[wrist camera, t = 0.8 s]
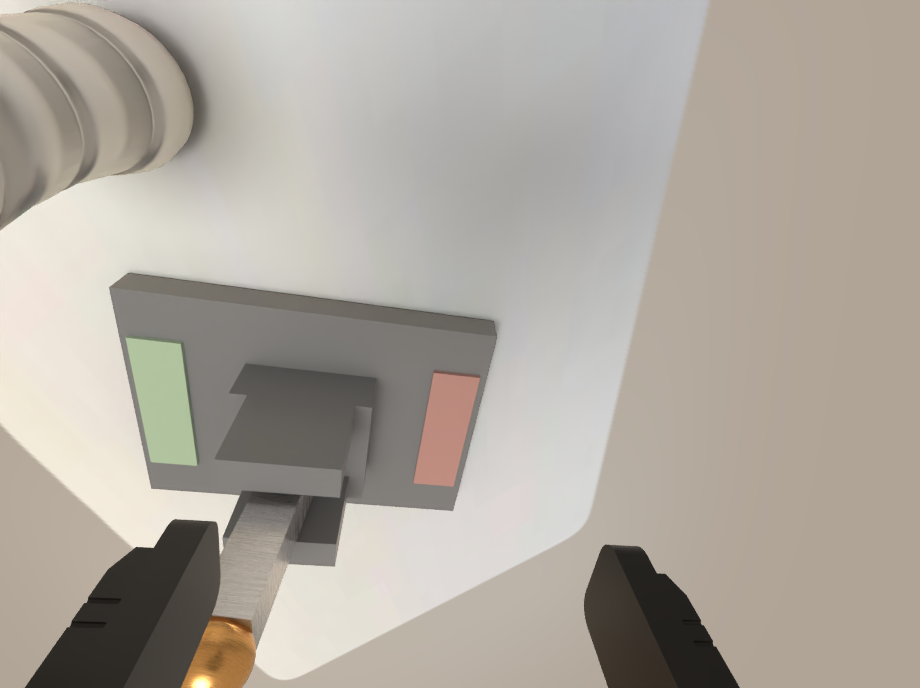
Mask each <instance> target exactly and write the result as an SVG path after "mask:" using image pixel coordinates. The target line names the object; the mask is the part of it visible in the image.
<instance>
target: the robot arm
mask: <svg viewBox="0 0 920 688" xmlns="http://www.w3.org/2000/svg"><path fill="white" fill-rule="evenodd" d="M220 580H221V572H220V554H219V536H218V526H217V523H216V522H213V521H195V520H177V519H175V520H173V521H172V522H171V523H170V524H169V525H168V526H167V528H166V529H165V531H164V532H163V534H162V536H161V537H160V539H159V540H158V542H157V544H156V545H155V547H154V548H144V547H136V548H134V549H133V550H132V551H131V552H129V553H128V554H127V555H126V556H124V557H123V558H122V559H121V560H120V561H118V562H117V563H116V564H114V565H113V566H112V567H111V568H109V569H108V570H107V572H106V573H105V575H104V576H103V577H102V579H101V580H100V582H99V583H98V584H97V586H96V587H95V589H94V590H93V591H92V593H91V594H90V596H89V597H88V601H87V603H84V604H83V606H82V607H81V608H80V610H79V611H78V613H77V614H76V616H75V617H74V619H73V620H72V623H71V626H70V627H68V628H66V630H65V631H64V633H63V634H62V636H61V637H60V638H59V640H58V641H57V643H56V644H55V646H54V647H53V648H52V650H51V651H50V653H49V654H48V655H47V657H46V658H45V660H44V661H43V663H42V664H41V665H40V667H39V668H38V670H37V671H36V673H35V674H34V675H33V677H32V678H31V680H30V681H29V683H28V684H27V685H26V687H25V688H181V686H182V684H183V682H184V679H185V677H186V674H187V672H188V670H189V667H190V665H191V663H192V660H193V658H194V656H195V653H196V651H197V649H198V646H199V644H200V641H201V639H202V637H203V634H204V632H205V630H206V627H207V625H208V623H209V620H210V618H211V615H212V613H213V611H214V608H215V605H216V601H217V598H218V593H219V588H220ZM584 612H585V619H586V623H587V627H588V630H589V632H590V636H591V639H592V641H593V644H594V647H595V650H596V653H597V656H598V659H599V662H600V665H601V668H602V671H603V674H604V677H605V679H606V682H607V685H608V688H740V687H739V686H738V684H737V683H736V680H735V679H734V677H733V675H732V673H731V672H730V670H729V668H728V667H727V665H726V663H725V661H724V660H723V658H722V656H721V655H720V653H719V651H718V649H717V648H716V647H714V646H713V640H712V639H711V637H710V635H709V634H708V632H707V630H706V628H705V627H704V626H703V625H701V620H700V618H699V616H698V614H697V613H696V611H695V609H694V608H693V606H692V604H691V602H690V601H689V599H688V597H687V595H686V594H685V593H684V592H683V591H682V590H680V588H679V587H678V586H677V585H676V584H674V582H673V581H672V580H671V579H670V578H669V577H668V576H667V575H666V574H657V573H656V571H655V569H654V567H653V565H652V564H651V562H650V560H649V558H648V556H647V554H646V553H645V551H644V550H643V549H642V548H641V547H638V546H618V545H604V546H603V547H602V549H601V551H600V554H599V557H598V559H597V562H596V565H595V568H594V570H593V573H592V576H591V579H590V582H589V585H588V587H587V590H586V593H585V599H584Z"/></svg>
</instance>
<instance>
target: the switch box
mask: <svg viewBox="0 0 920 688" xmlns="http://www.w3.org/2000/svg"><path fill="white" fill-rule="evenodd" d="M109 289H110V294H111V299H112V304H113V308H114V313H115V318H116V323H117V327H118V332H119V337H120V342H121V346H122V351H123V356H124V361H125V365H126V370H127V375H128V380H129V384H130V389H131V394H132V399H133V403H134V408H135V413H136V417H137V422H138V427H139V432H140V436H141V441H142V446H143V451H144V455H145V460H146V465H147V470H148V474H149V479H150V484H151V489H164V490H178V491H191V492H205V493H218V494H232V495H240V497H239V499H238V502H237V504H236V506H235V509H234V511H233V514H232V516H231V518H230V521H229V523H228V526H227V528H226V530H225V533H224V535H223V546H224V547H225V545H226V543H227V541H228V539H229V537H230V535H231V533H232V531H233V529H234V527H235V525H236V524H237V522H238V520H239V518H240V516H241V514H242V512H243V510H244V508H245V506H246V504H247V502H248V500H249V498H250V496H251V494H252V492H253V491H257V492H270V493H283V494H297V495H310V496H313V498H312V500H311V503H310V506H309V508H308V511H307V514H306V517H305V519H304V522H303V525H302V527H301V530H300V533H299V535H298V538H297V541H296V544H295V546H294V549H293V552H292V554H291V557H290V560H289V563H288V564H298V565H316V566H334V567H335V562H336V556H337V551H338V545H339V539H340V534H341V528H342V522H343V517H344V511H345V506H346V503H354V504H368V505H381V506H395V507H408V508H422V509H435V510H449V511H453V509H454V505H455V501H456V497H457V493H458V489H459V485H460V481H461V478H462V474H463V470H464V466H465V462H466V458H467V454H468V450H469V446H470V442H471V438H472V434H473V430H474V426H475V422H476V419H477V415H478V411H479V407H480V403H481V399H482V395H483V391H484V387H485V383H486V379H487V375H488V371H489V367H490V363H491V360H492V356H493V352H494V348H495V344H496V340H497V334H496V329H495V325H494V321H489V320H481V319H474V318H466V317H459V316H451V315H443V314H436V313H428V312H421V311H413V310H405V309H398V308H390V307H383V306H375V305H367V304H360V303H352V302H345V301H337V300H330V299H322V298H314V297H307V296H299V295H292V294H284V293H276V292H269V291H261V290H254V289H246V288H238V287H231V286H223V285H216V284H208V283H201V282H193V281H185V280H178V279H170V278H163V277H155V276H147V275H140V274H132V273H127V274H126V275H125V276H124V277H122V278H121V279H120V280H118V281H117V282H116V283H114V284H113V285H112V286H110V287H109Z"/></svg>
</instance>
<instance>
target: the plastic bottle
mask: <svg viewBox="0 0 920 688" xmlns="http://www.w3.org/2000/svg"><path fill="white" fill-rule="evenodd" d="M193 120H194V111H193V101H192V97H191V92H190V89H189V86H188V84H187V81H186V79H185V76H184V74H183V72H182V71H181V69H180V67H179V66H178V64H177V62H176V61H175V59H174V58H173V57H172V55H171V54H170V53H169V52H168V50H167V49H166V48H165V47H164V46H163V45H162V44H161V43H160V42H159V41H158V40H157V39H156V38H155V37H154V36H153V35H152V34H150V33H149V32H148V31H146V30H145V29H143V28H142V27H141V26H139V25H138V24H136V23H134V22H132V21H130V20H128V19H126V18H124V17H122V16H120V15H117V14H115V13H113V12H110V11H108V10H106V9H102V8H99V7H96V6H93V5H90V4H82V3H72V2H71V3H64V4H56V5H50V6H43V7H37V8H34V9H32V10H29V11H26V12H24V13H17V14H3V15H0V230H1V229H3V228H4V227H5V226H7V225H8V224H9V223H11V222H12V221H13V220H15V219H16V218H18V217H19V216H20V215H22V214H23V213H24V212H26V211H27V210H28V209H30V208H31V207H33V206H35V205H37V204H39V203H41V202H43V201H45V200H47V199H49V198H50V197H52V196H54V195H56V194H58V193H59V192H61V191H63V190H65V189H68V188H70V187H72V186H73V185H75V184H78V183H82V182H86V181H90V180H94V179H98V178H102V177H106V176H109V175H126V174H134V173H140V172H145V171H151V170H153V169H156V168H159V167H161V166H163V165H164V164H166V163H167V162H169V161H170V160H171V159H172V158H173V157H174V156H175V155H176V154H177V153H178V151H179V150H180V149H181V148H182V147H183V145H184V144H185V143H186V142H187V140H188V138H189V135H190V133H191V131H192V125H193Z"/></svg>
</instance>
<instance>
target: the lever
mask: <svg viewBox="0 0 920 688" xmlns="http://www.w3.org/2000/svg"><path fill="white" fill-rule="evenodd" d="M312 498H313V496H310V495H297V494H283V493H270V492H257V491H253V492H252V494H251V496H250V498H249V500H248V502H247V504H246V506H245V508H244V510H243V512H242V514H241V516H240V518H239V520H238V522H237V524H236V525H235V527H234V529H233V531H232V533H231V535H230V537H229V539H228V541H227V543H226V545H225V547H224V549H223V551H222V553H221V555H220V572H221V580H220V588H219V593H218V598H217V601H216V605H215V608H214V611H213V613H212V615H211V618H210V620H209V623H208V625H207V627H206V630H205V632H204V634H203V637H202V639H201V641H200V644H199V646H198V649H197V651H196V653H195V656H194V658H193V660H192V663H191V665H190V667H189V670H188V672H187V674H186V677H185V679H184V682H183V684H182V686H181V688H242V687H243V686H244V684H245V683H246V681H247V680H248V678H249V676H250V674H251V672H252V669H253V666H254V662H255V657H256V649H257V646H258V644H259V641H260V638H261V635H262V633H263V630H264V627H265V625H266V622H267V619H268V617H269V614H270V611H271V608H272V606H273V603H274V600H275V598H276V595H277V592H278V590H279V587H280V584H281V581H282V579H283V576H284V573H285V571H286V568H287V565H288V563H289V560H290V557H291V554H292V552H293V549H294V546H295V544H296V541H297V538H298V535H299V533H300V530H301V527H302V525H303V522H304V519H305V517H306V514H307V511H308V508H309V506H310V503H311V500H312Z"/></svg>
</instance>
